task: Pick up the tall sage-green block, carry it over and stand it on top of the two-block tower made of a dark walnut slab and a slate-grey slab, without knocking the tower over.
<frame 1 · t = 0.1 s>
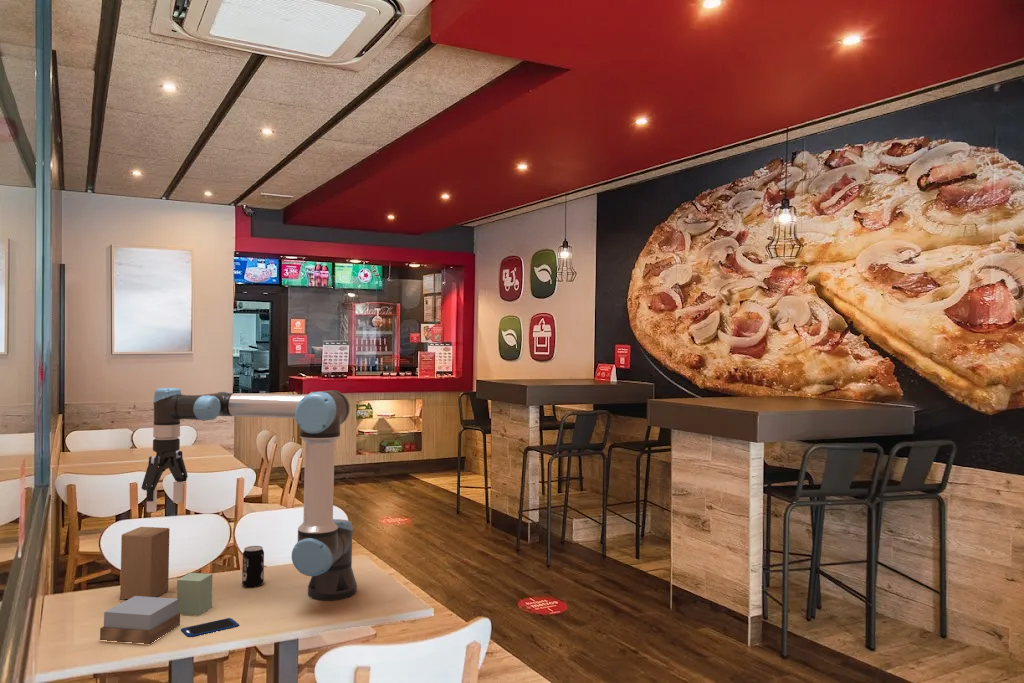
hand: (165, 507, 229), 28 cm above the table, tool pointing down, fingers open, 13 cm apart
slate top block: (141, 620, 202), point 3 cm above the table, touching walnut base block
beverage can: (252, 585, 243), on the table
wooden block: (144, 595, 231), on the table
sage block: (194, 610, 219), on the table
cell phone: (210, 630, 206), on the table
walnut base block: (141, 634, 201), on the table, touching slate top block
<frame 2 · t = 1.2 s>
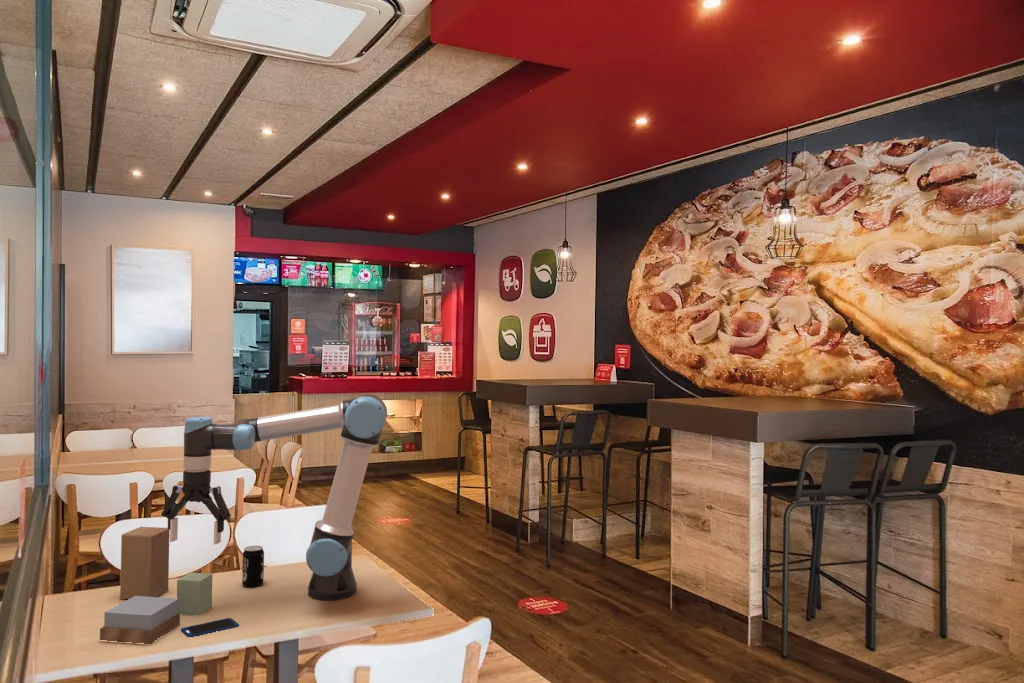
hand: (195, 542, 219), 20 cm above the table, tool pointing down, fingers open, 13 cm apart
nothing on the table moved.
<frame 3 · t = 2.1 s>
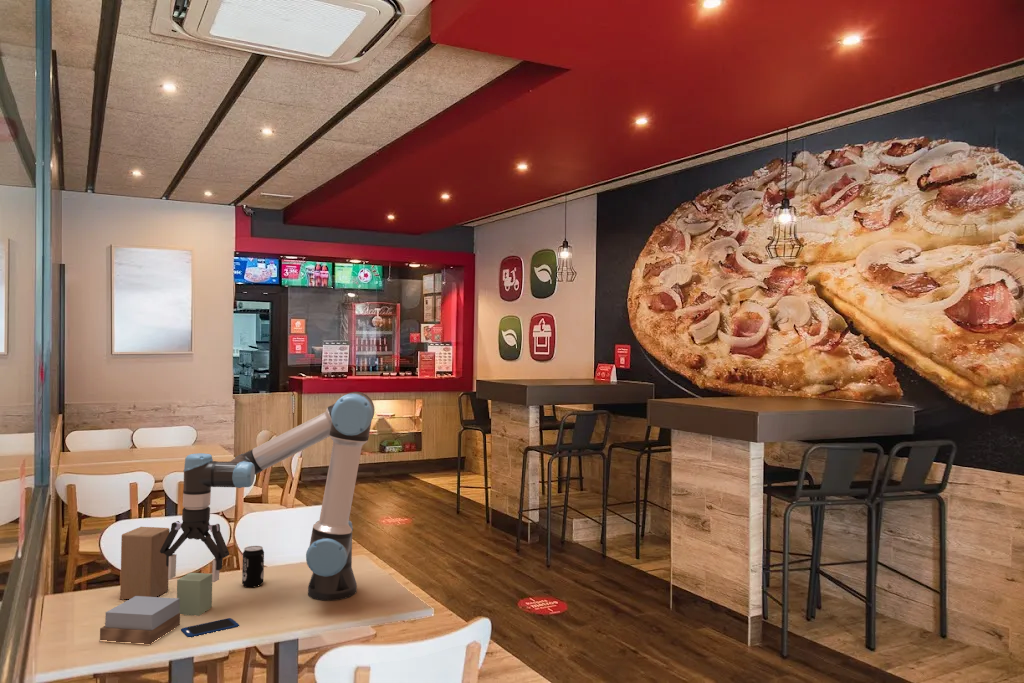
hand: (193, 579, 219), 9 cm above the table, tool pointing down, fingers open, 13 cm apart
nothing on the table moved.
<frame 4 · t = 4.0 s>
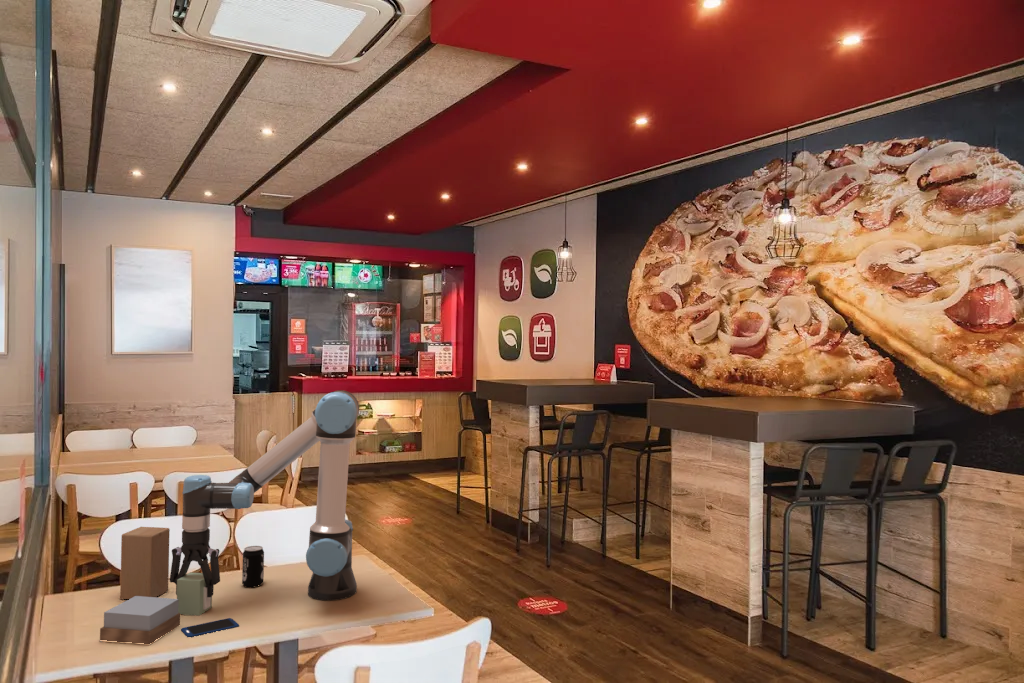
hand: (194, 606, 219), 1 cm above the table, tool pointing down, fingers closed on sage block, 7 cm apart
sage block: (194, 610, 219), on the table, touching gripper
everything else where it was.
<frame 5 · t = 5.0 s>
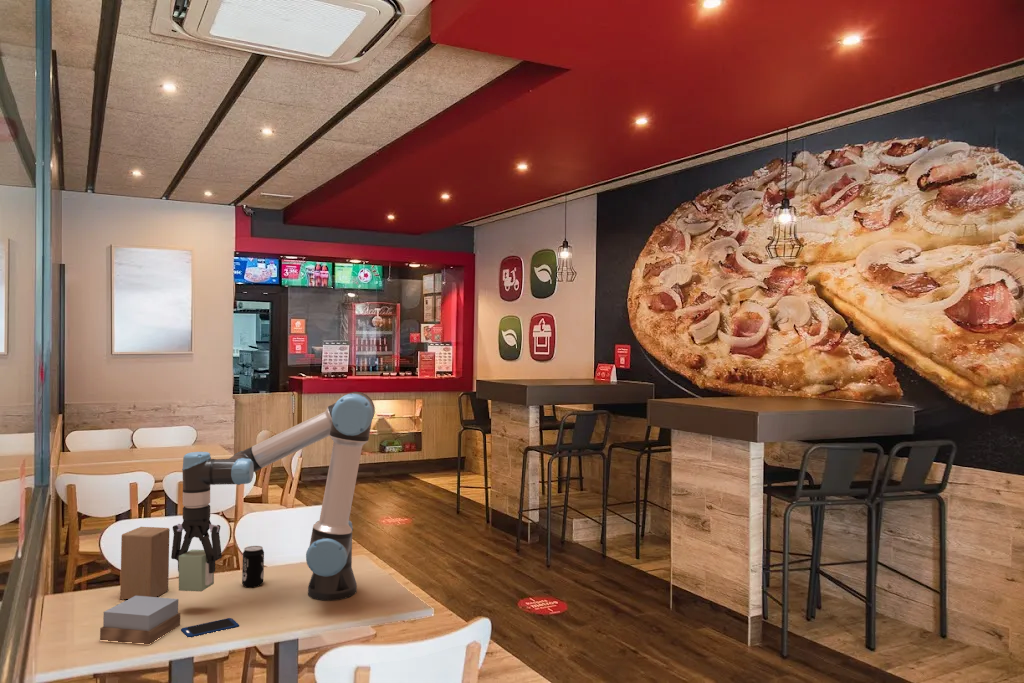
hand: (196, 583, 219), 8 cm above the table, tool pointing down, fingers closed on sage block, 7 cm apart
sage block: (196, 587, 219), point 7 cm above the table, touching gripper
everything else where it was.
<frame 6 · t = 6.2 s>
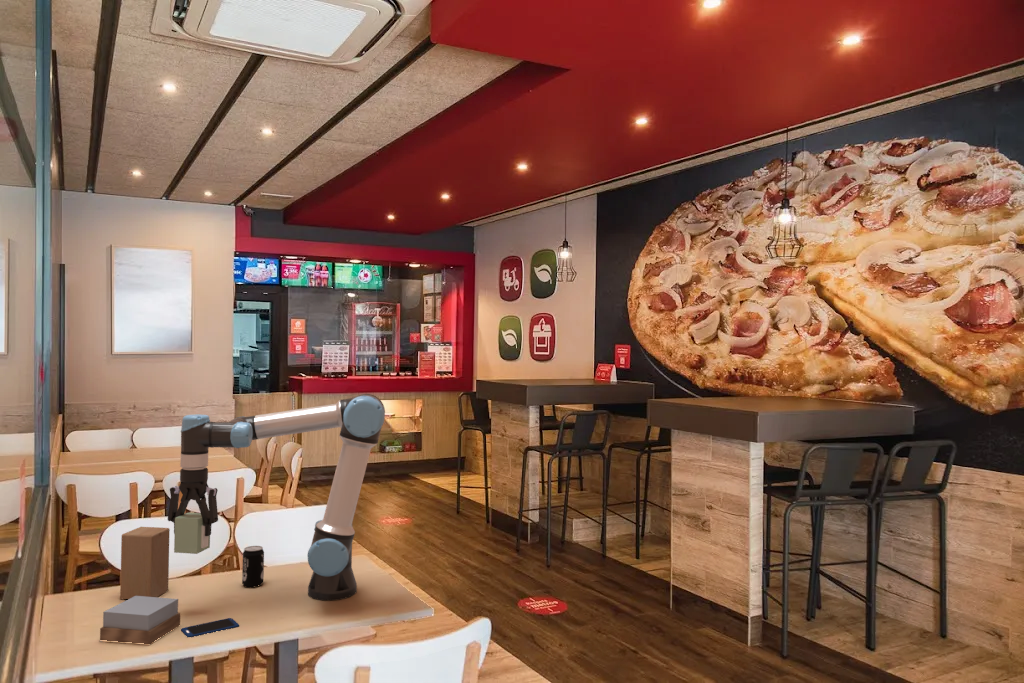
hand: (192, 546, 218), 19 cm above the table, tool pointing down, fingers closed on sage block, 7 cm apart
sage block: (192, 549, 218), point 18 cm above the table, touching gripper
everything else where it was.
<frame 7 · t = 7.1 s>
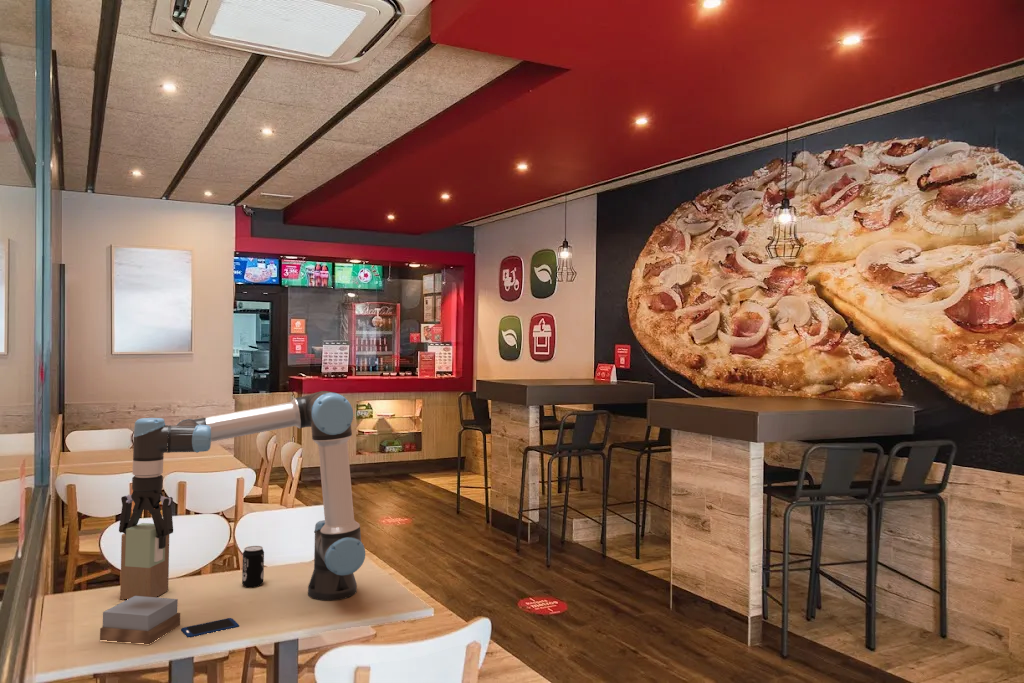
hand: (145, 559, 203), 20 cm above the table, tool pointing down, fingers closed on sage block, 7 cm apart
sage block: (145, 563, 203), point 18 cm above the table, touching gripper
everything else where it was.
when the fingers open (10 cm above the table, at t = 11.3 s): sage block drops 1 cm, point 7 cm above the table.
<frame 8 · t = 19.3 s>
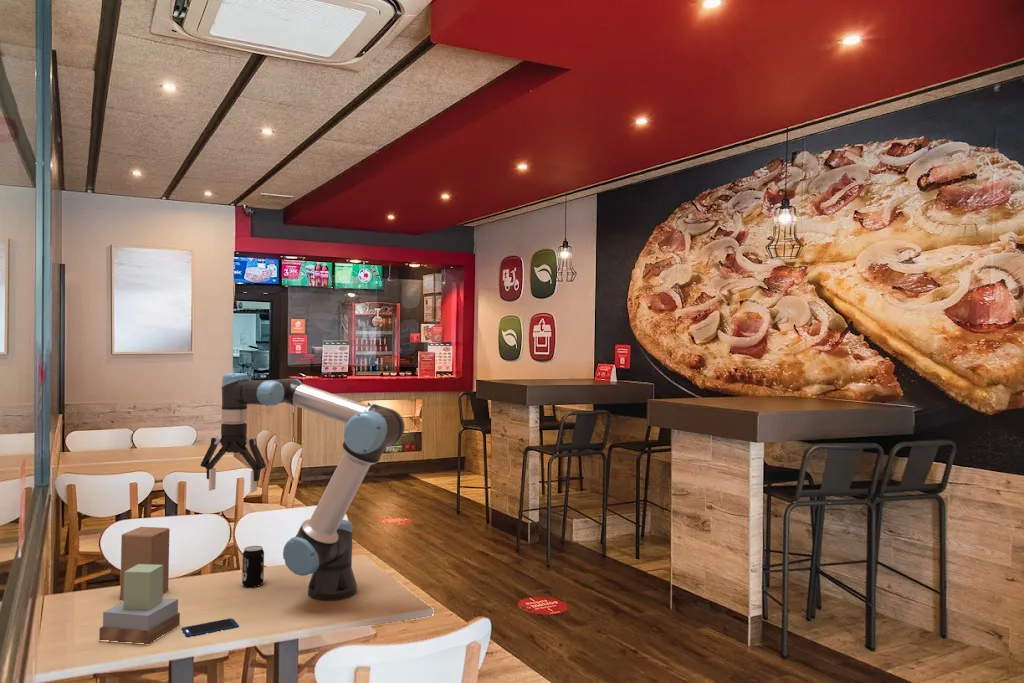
hand: (232, 490, 232), 33 cm above the table, tool pointing down, fingers open, 13 cm apart
sage block: (143, 605, 202), point 7 cm above the table
everything else where it was.
at the end: sage block inside the target area on the slate top block (0.4 cm from its centre), point 4.0 cm above the slate top block's base; slate top block 0.2 cm off-centre on the walnut base block, point 4.0 cm above the walnut base block's base; sage block tilted 0° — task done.
